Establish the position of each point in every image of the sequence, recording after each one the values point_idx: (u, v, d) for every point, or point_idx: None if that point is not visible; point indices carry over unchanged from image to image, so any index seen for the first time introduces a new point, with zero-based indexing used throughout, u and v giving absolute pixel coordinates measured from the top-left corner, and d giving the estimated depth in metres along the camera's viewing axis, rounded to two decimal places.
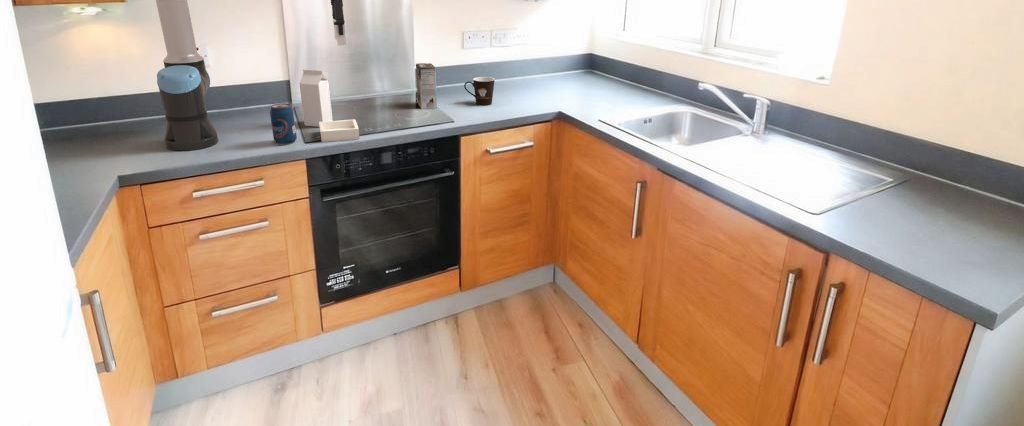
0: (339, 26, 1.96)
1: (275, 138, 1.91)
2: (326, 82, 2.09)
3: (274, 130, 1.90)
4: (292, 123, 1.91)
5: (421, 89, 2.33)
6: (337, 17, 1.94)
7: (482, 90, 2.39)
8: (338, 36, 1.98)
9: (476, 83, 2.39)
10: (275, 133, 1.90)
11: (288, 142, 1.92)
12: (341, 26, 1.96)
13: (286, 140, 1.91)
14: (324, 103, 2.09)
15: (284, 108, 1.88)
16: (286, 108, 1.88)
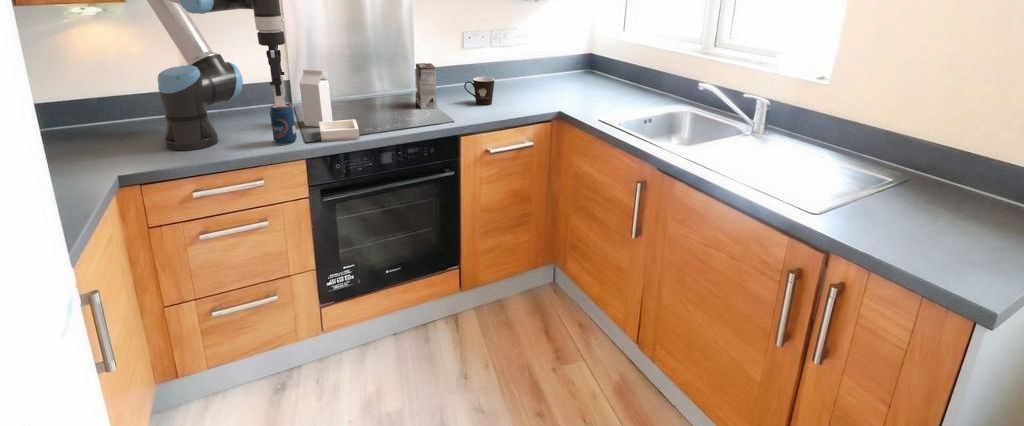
0: (276, 86, 1.79)
1: (275, 138, 1.91)
2: (326, 82, 2.09)
3: (274, 130, 1.90)
4: (292, 123, 1.91)
5: (421, 89, 2.33)
6: (273, 77, 1.77)
7: (482, 90, 2.39)
8: (276, 97, 1.81)
9: (476, 83, 2.39)
10: (275, 133, 1.90)
11: (288, 142, 1.92)
12: (278, 86, 1.79)
13: (286, 140, 1.91)
14: (324, 103, 2.09)
15: (284, 108, 1.88)
16: (286, 108, 1.88)
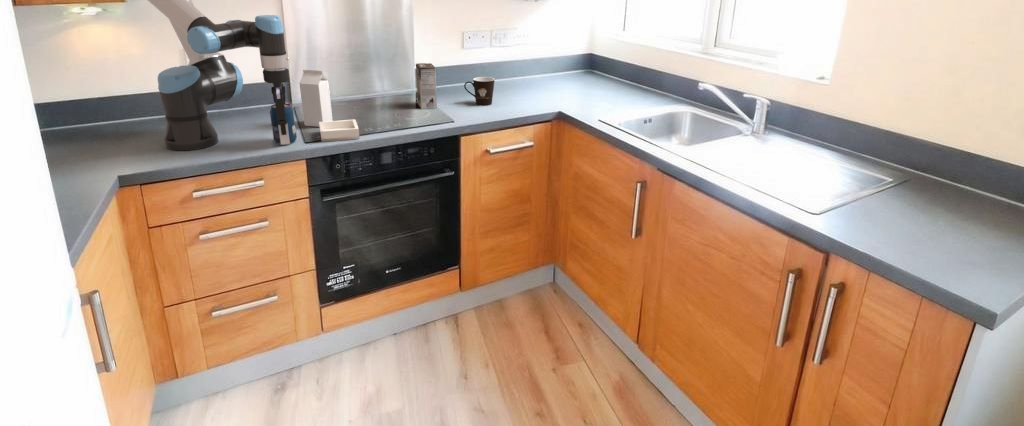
0: (281, 126, 1.87)
1: (275, 138, 1.91)
2: (326, 82, 2.09)
3: (274, 130, 1.90)
4: (292, 123, 1.91)
5: (421, 89, 2.33)
6: (278, 118, 1.84)
7: (482, 90, 2.39)
8: (281, 135, 1.89)
9: (476, 83, 2.39)
10: (275, 133, 1.90)
11: None
12: (283, 126, 1.87)
13: None
14: (324, 103, 2.09)
15: None
16: (286, 108, 1.88)
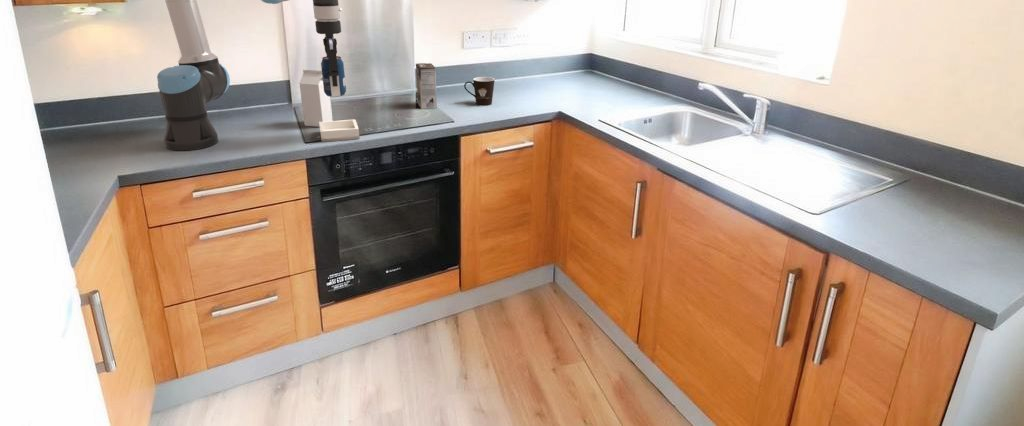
0: (333, 77, 1.89)
1: (326, 90, 1.93)
2: None
3: (325, 82, 1.92)
4: (343, 75, 1.93)
5: (421, 89, 2.33)
6: (331, 69, 1.86)
7: (482, 90, 2.39)
8: (332, 87, 1.91)
9: (476, 83, 2.39)
10: (326, 85, 1.92)
11: None
12: (335, 77, 1.89)
13: None
14: (324, 103, 2.09)
15: None
16: (337, 60, 1.90)
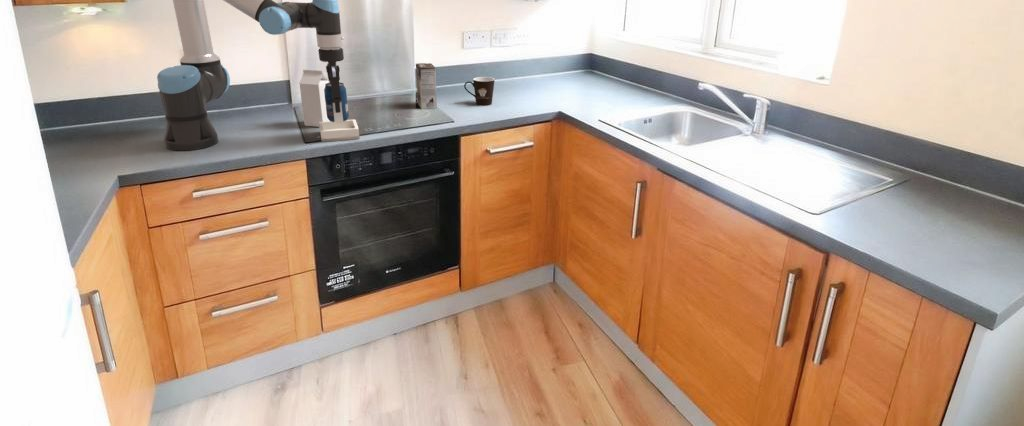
0: (336, 104, 1.92)
1: (329, 116, 1.97)
2: (326, 82, 2.09)
3: (328, 108, 1.95)
4: (345, 101, 1.96)
5: (421, 89, 2.33)
6: (334, 96, 1.90)
7: (482, 90, 2.39)
8: (335, 113, 1.95)
9: (476, 83, 2.39)
10: (329, 111, 1.96)
11: None
12: (338, 104, 1.93)
13: None
14: (324, 103, 2.09)
15: None
16: (340, 86, 1.94)
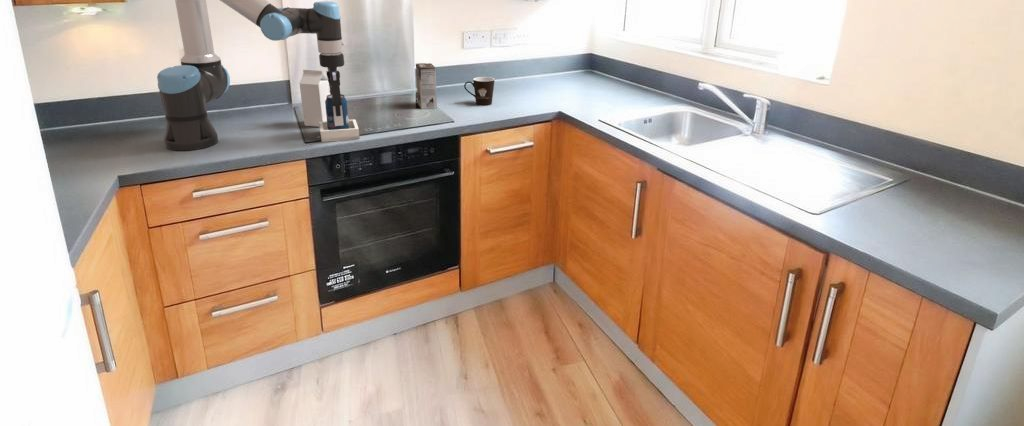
0: (336, 107, 1.91)
1: (329, 127, 1.99)
2: (326, 82, 2.09)
3: (329, 119, 1.98)
4: (346, 113, 1.99)
5: (421, 89, 2.33)
6: (334, 99, 1.88)
7: (482, 90, 2.39)
8: (335, 117, 1.93)
9: (476, 83, 2.39)
10: (330, 122, 1.98)
11: None
12: (338, 107, 1.91)
13: None
14: (324, 103, 2.09)
15: None
16: (341, 98, 1.96)
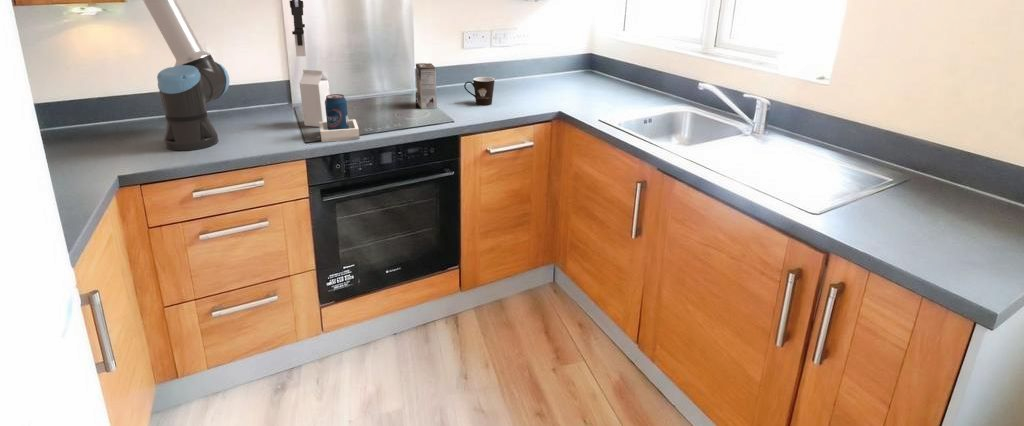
0: (298, 36, 1.82)
1: (329, 127, 1.99)
2: (326, 82, 2.09)
3: (328, 120, 1.98)
4: (345, 113, 1.99)
5: (421, 89, 2.33)
6: (295, 26, 1.79)
7: (482, 90, 2.39)
8: (297, 46, 1.84)
9: (476, 83, 2.39)
10: (330, 122, 1.98)
11: None
12: (300, 36, 1.82)
13: None
14: (324, 103, 2.09)
15: (339, 98, 1.96)
16: (340, 98, 1.96)
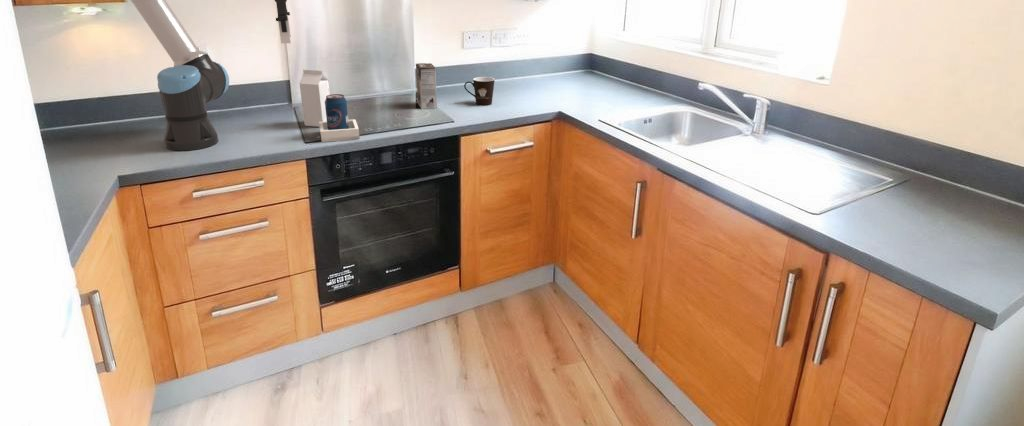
0: (282, 22, 1.80)
1: (329, 127, 1.99)
2: (326, 82, 2.09)
3: (328, 120, 1.98)
4: (345, 113, 1.99)
5: (421, 89, 2.33)
6: (279, 13, 1.78)
7: (482, 90, 2.39)
8: (281, 33, 1.82)
9: (476, 83, 2.39)
10: (330, 122, 1.98)
11: None
12: (284, 22, 1.80)
13: None
14: (324, 103, 2.09)
15: (339, 98, 1.96)
16: (340, 98, 1.96)
